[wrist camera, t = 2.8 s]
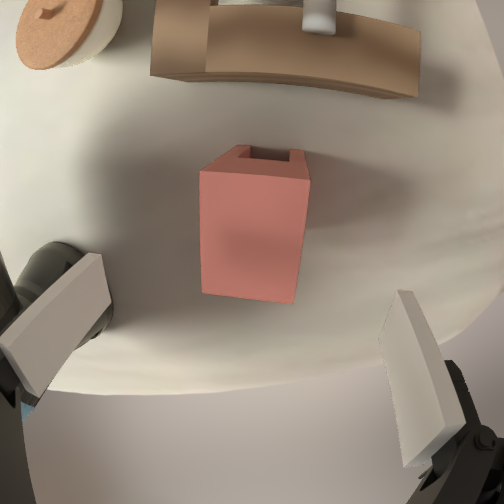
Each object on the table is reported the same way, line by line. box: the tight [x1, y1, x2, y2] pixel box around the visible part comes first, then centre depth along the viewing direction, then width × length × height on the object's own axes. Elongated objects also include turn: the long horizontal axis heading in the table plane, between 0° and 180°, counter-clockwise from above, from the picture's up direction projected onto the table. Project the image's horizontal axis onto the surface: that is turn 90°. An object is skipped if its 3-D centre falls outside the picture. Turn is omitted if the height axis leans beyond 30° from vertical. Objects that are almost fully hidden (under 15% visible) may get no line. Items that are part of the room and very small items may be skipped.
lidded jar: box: [16, 0, 123, 70], centre depth 17 cm, size 11×11×9 cm
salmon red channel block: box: [199, 145, 311, 304], centre depth 23 cm, size 8×6×12 cm
